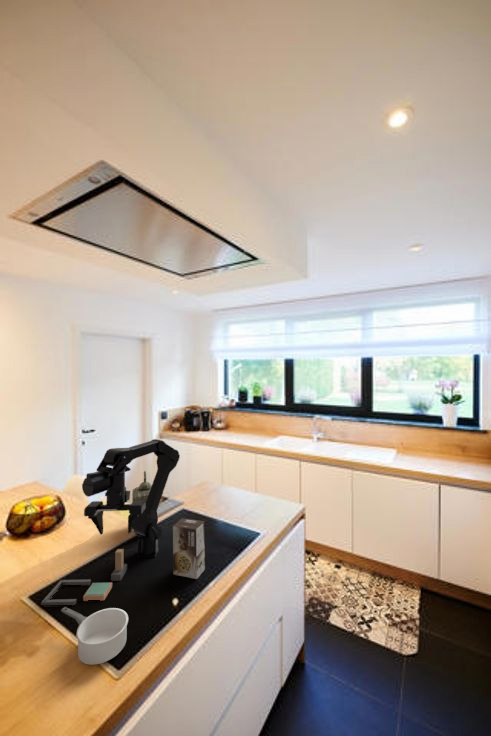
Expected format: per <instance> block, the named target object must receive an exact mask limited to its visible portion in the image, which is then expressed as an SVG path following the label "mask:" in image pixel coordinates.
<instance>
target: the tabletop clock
mask: <svg viewBox="0 0 491 736" xmlns="http://www.w3.org/2000/svg"><path fill="white" fill-rule="evenodd" d="M151 487H152V484H151V483H150V482H149V481H147V471H144V472H143V482H141V483H140V484H139V486H136V487H134V488H133V489H132V494H131V495H132V502H133V501H134V500H144V501H145V503H146V501H147V498H148V495H149V492H150V489H151ZM132 502H131V503H132Z"/></svg>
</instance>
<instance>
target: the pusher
mask: <svg viewBox="0 0 491 736" xmlns="http://www.w3.org/2000/svg"><path fill="white" fill-rule="evenodd" d="M124 550H125V549H124V548H118V549H116V551H115V552H114V553H115V554H114V562H115V564H114V565H115V566H114V568H115V569H114V570H113V571H112V573H111V574H110V581H111V582H115V581H116V582H117V581H118V582H120V581H121V582H122V579H123V577H124V576H125V574H126V572H127V570H128V564H127V563H124V556H125V555H124V554H125V553H124Z"/></svg>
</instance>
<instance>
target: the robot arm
mask: <svg viewBox="0 0 491 736" xmlns="http://www.w3.org/2000/svg"><path fill="white" fill-rule="evenodd" d="M152 453H153V454H154V456H156V457H157V459H156V466H157V467H156V472H155V476H154V479H153V481H152V484H151V485H152V487H151V489H150V492H149V495H148V498H147V501H146V503H145V501H144V500H134V501H133V502H131V503H129V504H128V501H130V499H131V490H127V487H126V484H125V483H126V472H129V471H131V468H130V467H129V466H128V465H129V464H131V462H132V461H134V460H135V459H138V458H141V457H143V456H147V455H149V454H152ZM180 455H181V454H180V453H179V451H178V450H177V449H175V448H174V447H172V446H170V445H169V444H167V443H166V442H165V441H163V440H162V439H157V438H155V439H151V440H149V441H146V442H143V443H139V444H136V445H132V446H129V447H115V448H109V449H107V450H106V452H105V453H104V456H103V458H101V459H102V460H101V461H100V463H99V465H98V466H97V468H96V471H95V472H90V473H86V477H85V478H84V479H83V483H82V484H81V486H82V488H81V489H82V492H83V493H84V495H85V496H86V497H87V498H88V497H92V496H94V495H95V496H96V495H97V494H102V493H103V492H105V493H104V496H105V497H106V504H104V502H103V501H102V500H99V501H96V500H95V501H93V500H92V501H91V502H90V503H89V504H87V505H86V506H85V507H84V509H83V516H84V517H87V518H88V519H89V520H91V521H92V522H93V524H94V526H95V527H96V529H97V531H98V532H99V534H100V535H103V533H104V520H103V519H104V518H103V516H104V512H114V511H115V512H116V511H117V512H119V511H122V512H123V511H128V513H129V514H128V519H127V533H128V535H130V534H131V532H132V531H133V533H135V536H136V537H138V541H137V546H136V547H137V552H136V553H137V558H155V557H156V556H157V553H158V552H159V549H160V546H159V538H161V537H162V533H163V530H162V529H161V528H160V527H159V526H158V522H159V517H158V508H159V505H160V503H161V500H162V496H163V494H164V490H165V488H166V485H167V482H168V479H169V476H170V474H171V472H172V471H173V470H174V469H175V468H176V467H177V465H178V463H179V461H180ZM126 503H127V504H126Z"/></svg>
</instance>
